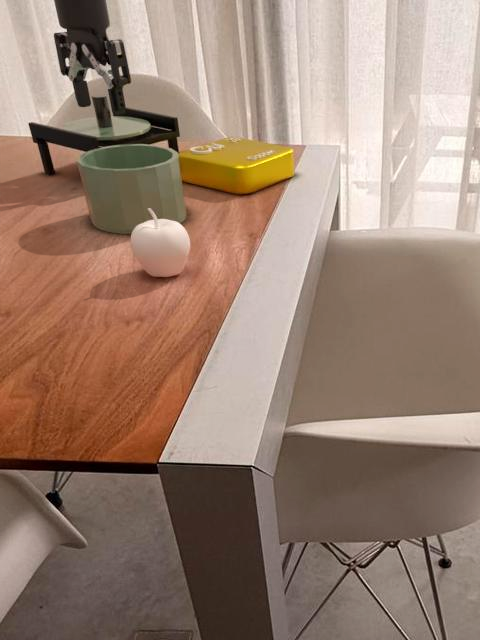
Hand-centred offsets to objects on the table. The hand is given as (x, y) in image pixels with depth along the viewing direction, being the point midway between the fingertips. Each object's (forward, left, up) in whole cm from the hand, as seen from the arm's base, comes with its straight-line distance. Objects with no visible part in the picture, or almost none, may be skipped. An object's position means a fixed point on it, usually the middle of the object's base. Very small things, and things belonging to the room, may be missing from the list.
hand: (102, 110), depth 114 cm
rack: (0, 0, -10) cm, 10 cm away
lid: (0, 0, -3) cm, 3 cm away
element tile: (+10, -20, -10) cm, 24 cm away
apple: (-26, -40, -10) cm, 49 cm away
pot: (-14, -22, -10) cm, 28 cm away
